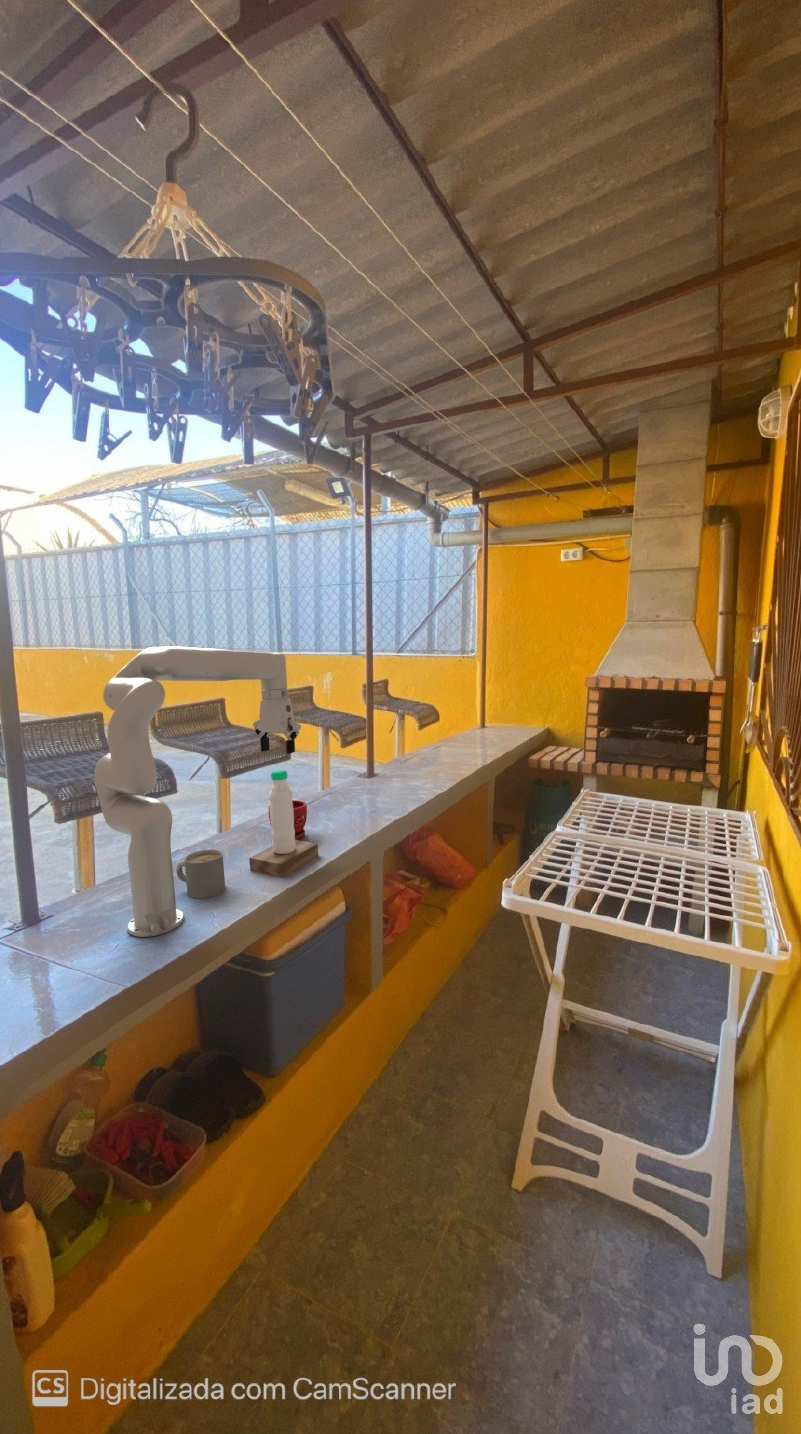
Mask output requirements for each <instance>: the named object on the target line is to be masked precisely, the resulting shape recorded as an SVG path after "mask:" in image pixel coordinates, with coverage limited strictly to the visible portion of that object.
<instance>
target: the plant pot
mask: <svg viewBox="0 0 801 1434" xmlns="http://www.w3.org/2000/svg"><path fill="white" fill-rule="evenodd" d="M292 802H293V812H294V830H295V840H299V839H302V838H303V837H304V836H305V834H306V830H305V829H304V828H305V826H306V823H307V818H308V817H307V816H308V815H307V814H308V803H306V802H305V801H304V800H303V801H302V800H295V799H294V800H293V799H292ZM268 819H269V824H270V825H271V820H270V804H269V805H268Z"/></svg>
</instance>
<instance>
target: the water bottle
mask: <svg viewBox="0 0 801 1434" xmlns="http://www.w3.org/2000/svg"><path fill="white" fill-rule="evenodd" d="M270 778H271V781H272V783H273V784H272V785H271V788H270V790H269V792H268V793H269V794H268V800H269V805H270V820H271V824H270V826H271V827H270V828H271V832H270V833H271V841H272V843H271V847H272V850H273V852H274V853H276V854H288V853H291V852H293V851H294V850H295V849H296V843H295V830H294V812H293V802H292V800H293V792H292V790H291V788H290V785H289V784H288V783H287V780H288V772H287V770H282V769H278V770H273V771H272V772H271V773H270ZM270 820H269V821H270Z"/></svg>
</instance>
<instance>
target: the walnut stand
mask: <svg viewBox="0 0 801 1434" xmlns="http://www.w3.org/2000/svg"><path fill="white" fill-rule="evenodd" d="M295 843H296V849H295V850H294V851H293V852H291V853H288V854H276V853H274V852H273V850H272V846H271V847H269V848H266V849H265V850H262V851H260V852H259V853H256V854H255V855H252V856H251V857H249V858H248V859H249V867H250V868H249V870H250V872H254V873H259V874H264V875H269V876H273V875H274V877H278V876H279V877H278V878H283V877H286V875H288V874H290V873H293V871H295V870H297V869H298V868H301V867H302V866H303V865H305V864H307V863H308V861H309V862H311V861H312V860H314V859H316V858H317V857H318V856H319V844H318V843H316V842H311V841H310V842H309V841H303V840H299V839H297V840H295ZM306 862H307V863H306Z"/></svg>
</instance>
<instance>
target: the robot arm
mask: <svg viewBox="0 0 801 1434" xmlns="http://www.w3.org/2000/svg"><path fill="white" fill-rule="evenodd" d="M287 677H288V675H287V658H286V656H285V654H284V653H279V652H263V651H247V650H245V651H243V650H230V649H223V648H222V649H221V648H205V647H204V648H203V647H189V646H174V645H173V646H171V645H169V646H150V647H147V648H144V649H143V650H141V651H140V652H139V653H138V654H137V655H135V656H134V657H133V658H131V660H129V662H127V663H126V665H124V666H123V667H122V668H121V669H120V670H119V671H118V672H117V673H116V674H115V675H113V676H112V678H110V679H109V681H107V683H106V685H105V686H104V689H103V693H102V696H103V697H102V698H103V702H104V703H105V705H106V706H107V707H108V709H110V710H111V711H113V714H112V715H111V717H110V719H109V722H108V726H107V730H106V732H107V733H106V735H107V736H106V737H107V743H108V744H107V745H108V749H109V752H108V753H107V754H105V755H103V756H102V757H101V758H99V760H98V761H97V762H96V764H95V768H94V773H93V774H94V775H93V777H94V778H93V779H94V780H93V781H94V784H95V789H96V792H97V793H96V794H97V797H98V799H99V800H98V801H99V805H100V808H101V812H102V815H103V818H104V820H105V823H106V824H107V825H108V827H109V828H110V829H112V830H114V831H116V832H118V833H121V834H125V835H128V836H130V843H129V848H128V850H127V865H128V873H129V882H130V883H129V884H130V892H131V903H132V912H133V918H132V919H131V920H129V922H128V923H127V925H126V927H127V932H128V934H130V935H132V936H134V937H140V938H148V937H155V936H160V935H164V934H165V933H168V932H171V931H173V930H175V929H176V928H178V927H179V926H181V924H182V923H183V922H184V918H185V915H184V912H183V911H182V910H180V909H178V908H177V904H176V903H177V902H176V893H175V892H176V891H175V881H174V880H175V879H174V870H173V868H174V867H173V859H172V848H171V847H172V846H171V844H172V842H171V840H172V838H171V836H172V828H173V827H172V826H173V814H172V811H171V809H170V807H169V806H168V804H166V803H165V802H164V801H163V800H160V799H159V798H158V799H157V798H154V797H150V796H145V794H148V793H151V791H152V790H153V789H154V788H155V786H156V785H157V780H158V778H157V777H158V776H157V775H158V774H157V769H156V765H155V761H154V756H153V751H152V747H151V743H150V736H149V727H150V724H151V722H152V720H153V718H154V716H155V715H156V714H157V713H158V711H159V710H160V709H161V708H162V707H163V705H164V702H165V699H166V691H165V688H164V686H163V685H162V683H161V682H160V681H165V682H167V681H168V682H169V681H170V682H228V681H238V680H241V681H243V680H245V681H246V680H249V681H250V680H251V681H255V680H257V681H258V680H260V686H261V687H260V688H261V690H260V691H261V700H260V703H259V719H258V720H256V721H255V722H253V723H252V726H253V728H254V731H255V733H256V735H257V737H258V739H260V751H261V752H262V753H263V752H267V751H270V736H268V735H269V734H281V735H282V734H283V735H284V736H285V738H286V740H285V751H286V754H288V755H289V754H292V753H293V754H294V753H295V752H296V743H295V742H296V741H295V740H296V739H297V736H298V735H299V734H300V730H301V728H302V725H301V724H300V723H298V722H297V721H295V715H294V714H295V713H294V710H293V705H292V701H291V699H290V698H289V696H290V695H291V691H289V690H288V678H287Z"/></svg>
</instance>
